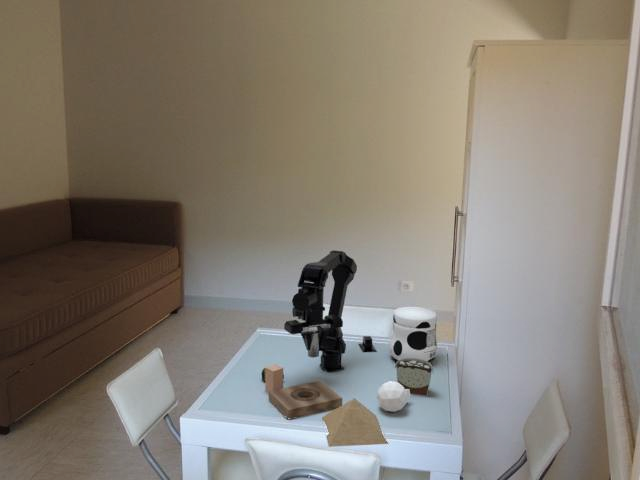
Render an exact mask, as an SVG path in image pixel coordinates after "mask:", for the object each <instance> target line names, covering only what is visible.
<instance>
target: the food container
mask: <svg viewBox="0 0 640 480" xmlns="http://www.w3.org/2000/svg"><path fill="white" fill-rule="evenodd" d="M394 369H396V380H397V381H396V382H398V383H400V384H401V385H402V386H403V387H404V388H405V389H410V395H413V396H420V397H425V398H428V396H429V395H428V394H429V388H430V383H431V378H432V374H434V367H433V365H432V363H431V362H430V363H429V362H427V361H425V360H421V359H416V358H406V359H401V360H399V361H397V360H396V363H395V365H394Z"/></svg>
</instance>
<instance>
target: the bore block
mask: <svg viewBox="0 0 640 480" xmlns="http://www.w3.org/2000/svg"><path fill="white" fill-rule="evenodd" d="M268 401H269V402H270V403H271V404H272V405H273V406H274V407H275V408H276V409H277V410H278V411H279V413H281V414H282V416H284V417H285V416H286V417H287V418H294V417H298V418H301V416H302V417H306V416H310V415H314V414H319V413H323V412H328V411H333V410H335V409H337V408H338V407H340V406H342V405H343V397H342V396H341V395H339V394H338V393H337V392H336V391H334V390H333V389H332V388H331V387H329V385H326V383H324V382H323V381H322V380H317V381H312V382H307V383H303V384H302V383H301V384H296V385H291V386H287V387H283V388H281V389H276V390H271V391H269V393H268ZM286 417H285V418H286ZM287 418H286V419H287ZM294 419H295V418H294Z"/></svg>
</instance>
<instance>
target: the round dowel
mask: <svg viewBox="0 0 640 480" xmlns="http://www.w3.org/2000/svg"><path fill="white" fill-rule="evenodd" d="M309 332H311V340H310V349H309V351H308V350H307V357H309V358H318V357H319V356H320V351H319V331H318V330H317V329H311V330H309Z"/></svg>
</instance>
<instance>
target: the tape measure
mask: <svg viewBox="0 0 640 480" xmlns="http://www.w3.org/2000/svg"><path fill="white" fill-rule="evenodd" d="M261 379H262V380H263V381H265V367H264V368H263V369H262V371H261ZM284 379H285V374H284V373H283V380H284Z"/></svg>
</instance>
